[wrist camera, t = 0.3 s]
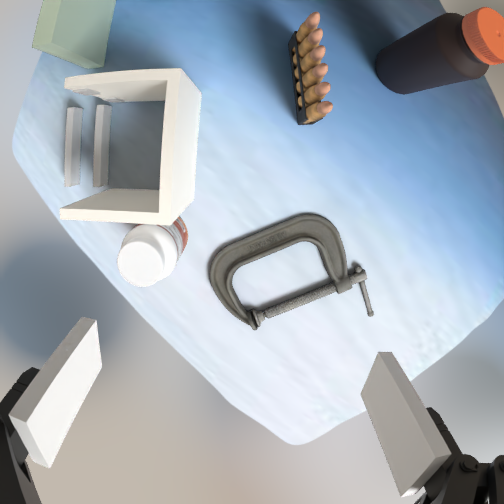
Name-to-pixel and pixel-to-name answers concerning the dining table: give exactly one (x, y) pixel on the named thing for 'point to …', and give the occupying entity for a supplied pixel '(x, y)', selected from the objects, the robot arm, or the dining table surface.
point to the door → (75, 30)
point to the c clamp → (278, 239)
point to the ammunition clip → (309, 72)
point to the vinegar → (443, 52)
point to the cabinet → (172, 154)
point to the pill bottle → (151, 252)
